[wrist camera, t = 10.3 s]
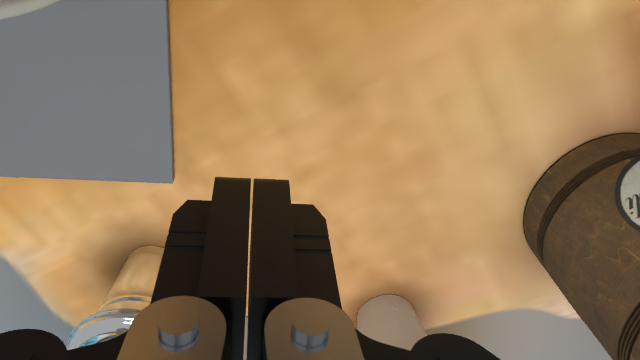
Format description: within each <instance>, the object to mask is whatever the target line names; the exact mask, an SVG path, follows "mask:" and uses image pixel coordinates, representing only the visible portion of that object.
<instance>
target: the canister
mask: <svg viewBox="0 0 640 360" xmlns="http://www.w3.org/2000/svg"><path fill="white" fill-rule="evenodd" d="M58 1H60V0H0V20H1V19H7V18H12V17H16V16H20V15H24V14H27V13H31V12H34V11H37V10H39V9H42V8H45V7H47V6H49V5H52V4H54V3H56V2H58Z"/></svg>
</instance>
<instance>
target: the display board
mask: <svg viewBox="0 0 640 360" xmlns="http://www.w3.org/2000/svg"><path fill="white" fill-rule="evenodd" d="M0 176H2V177H26V178H51V179H75V180H99V181H124V182H148V183H172V184H173V181H174V149H173V120H172V92H171V64H170V36H169V7H168V0H60V1H58V2H56V3H54V4H52V5H49V6H47V7H45V8H42V9H39V10H37V11H34V12H31V13H27V14H24V15H20V16H16V17H12V18H7V19H1V20H0Z"/></svg>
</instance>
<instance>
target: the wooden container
mask: <svg viewBox="0 0 640 360" xmlns="http://www.w3.org/2000/svg"><path fill="white" fill-rule="evenodd" d="M524 233H525V237H526V240H527V242H528V245H529V247H530V248H531V250H532V251H533V253H534V254H535V256H536V257H537V258H538V260H539V261H540V262H541V264H542V265H543V267H544V268H545V269H546V271H547V272H548V273H549V275H550V276H551V278H552V279H553V281H554V282H555V283H556V285H557V286H558V287H559V289H560V290H561V292H562V293H563V294H564V296H565V297H566V299H567V300H568V301H569V303H570V304H571V305H572V307H573V308H574V310H575V311H576V312H577V314H578V315H579V316H580V318H581V319H582V320H583V321H584V322H585V324H586V325H587V326H588V327H589V329H590V330H591V331H592V333H593V334H594V335H595V337H596V338H597V339H598V341H599V342H600V343H601V344H602V346H603V347H604V348H605V350H606V351H607V352H608V354H609V355H610V356H611V358H612V359H613V360H640V134H616V135H610V136H606V137H602V138H599V139H596V140H593V141H591V142H588V143H586V144H584V145H582V146H580V147H578V148H576V149H574V150H573V151H571V152H570V153H568V154H566V155H565V156H564V157H563V158H561V159H560V160H559V161H558V162H556V163H555V164H554V165H553V166H552V167H551V168H550V169H549V170H548V171H547V172H546V173H545V174H544V176H543V177H542V178H541V180H540V181H539V182H538V183H537V185H536V187H535V188H534V190H533V191H532V193H531V196H530V197H529V200H528V203H527V206H526V209H525V215H524Z"/></svg>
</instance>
